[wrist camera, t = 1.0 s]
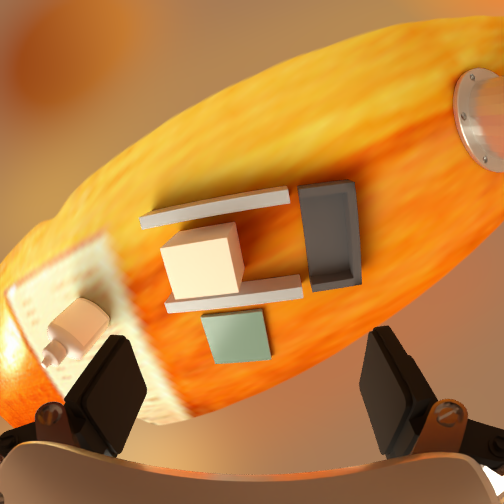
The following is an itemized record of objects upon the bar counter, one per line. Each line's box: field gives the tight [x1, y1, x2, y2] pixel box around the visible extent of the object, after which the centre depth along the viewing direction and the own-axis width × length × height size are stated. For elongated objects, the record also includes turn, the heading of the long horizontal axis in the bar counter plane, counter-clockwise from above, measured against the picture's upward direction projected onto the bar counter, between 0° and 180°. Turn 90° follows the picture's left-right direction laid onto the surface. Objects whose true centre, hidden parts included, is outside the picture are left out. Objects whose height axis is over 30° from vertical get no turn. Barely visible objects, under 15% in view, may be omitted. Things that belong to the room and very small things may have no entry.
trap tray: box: [297, 179, 362, 292], centre depth 27 cm, size 5×10×2 cm, turn 10°
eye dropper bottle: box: [41, 298, 110, 368], centre depth 28 cm, size 4×6×12 cm
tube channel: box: [139, 186, 303, 313], centre depth 28 cm, size 14×10×3 cm
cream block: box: [160, 222, 245, 300], centre depth 27 cm, size 6×5×6 cm
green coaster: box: [201, 309, 271, 364], centre depth 33 cm, size 7×7×1 cm
